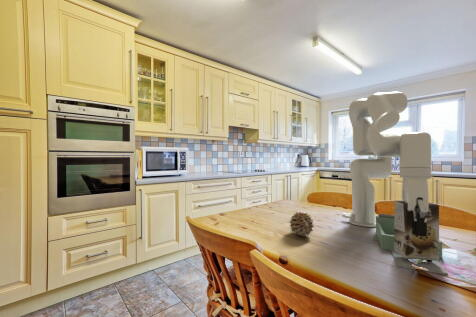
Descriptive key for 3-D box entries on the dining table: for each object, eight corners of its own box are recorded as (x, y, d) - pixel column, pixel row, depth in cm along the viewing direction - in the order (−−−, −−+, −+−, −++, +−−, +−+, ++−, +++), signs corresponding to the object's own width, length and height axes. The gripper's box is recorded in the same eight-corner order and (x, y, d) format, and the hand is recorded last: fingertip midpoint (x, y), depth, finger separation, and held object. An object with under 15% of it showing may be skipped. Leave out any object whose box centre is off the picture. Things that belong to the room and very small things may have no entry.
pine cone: (318, 242, 83) (318, 216, 83) (292, 242, 84) (292, 215, 84) (305, 225, 105) (305, 204, 105) (284, 225, 106) (284, 204, 106)
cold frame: (381, 249, 77) (381, 225, 77) (375, 232, 95) (375, 213, 95) (442, 258, 70) (441, 231, 70) (423, 238, 88) (423, 217, 88)
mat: (397, 266, 64) (397, 264, 64) (391, 251, 75) (391, 249, 75) (448, 275, 59) (448, 273, 59) (433, 257, 70) (433, 256, 70)
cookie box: (405, 259, 65) (405, 203, 65) (393, 250, 71) (393, 200, 71) (440, 261, 63) (440, 204, 63) (425, 251, 70) (424, 200, 70)
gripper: (394, 171, 77) (395, 222, 77) (406, 174, 61) (406, 238, 61) (422, 172, 73) (422, 225, 73) (441, 175, 58) (442, 242, 58)
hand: (415, 230), depth 67 cm, fingers closed on cookie box, 7 cm apart
